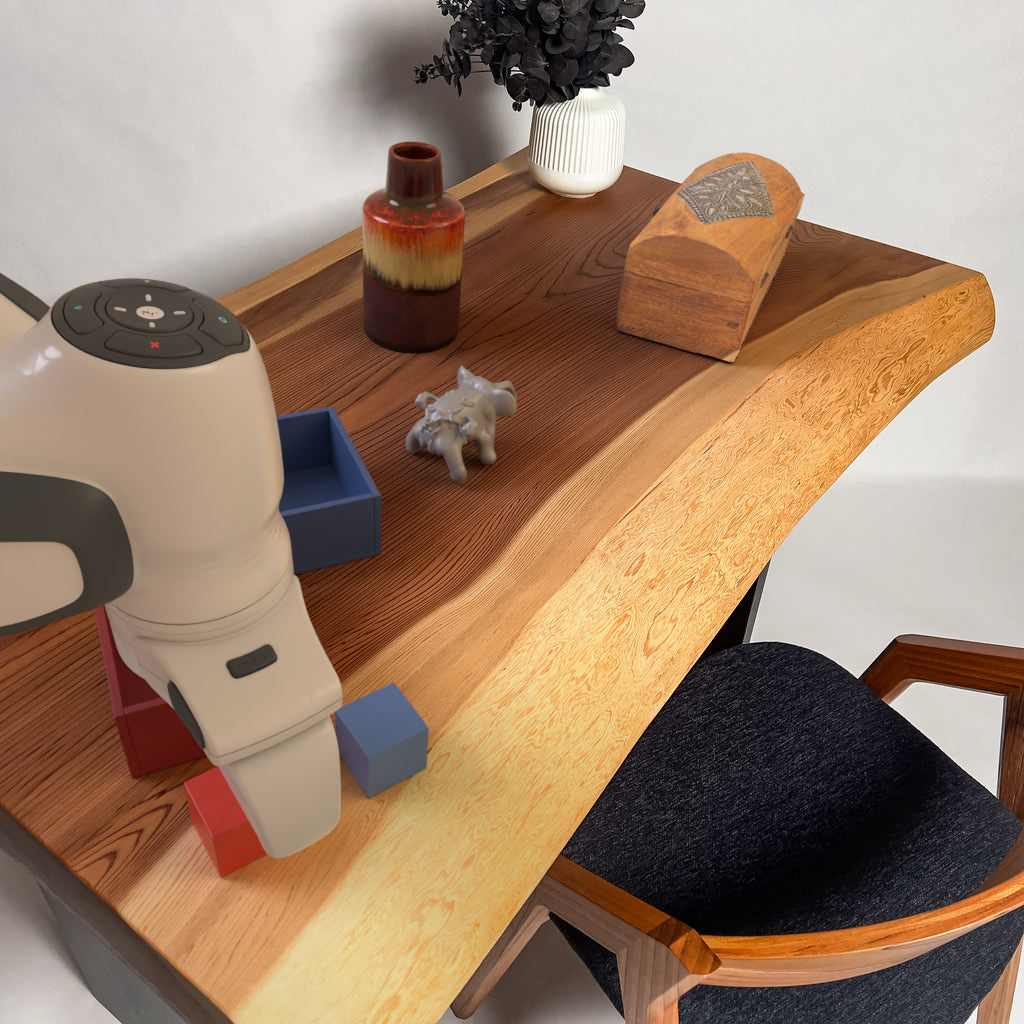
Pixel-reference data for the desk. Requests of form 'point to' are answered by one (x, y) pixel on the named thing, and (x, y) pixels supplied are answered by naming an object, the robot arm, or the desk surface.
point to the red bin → (143, 714)
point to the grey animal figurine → (462, 420)
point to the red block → (221, 822)
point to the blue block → (381, 739)
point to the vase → (412, 254)
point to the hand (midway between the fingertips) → (235, 763)
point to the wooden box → (710, 253)
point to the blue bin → (326, 492)
